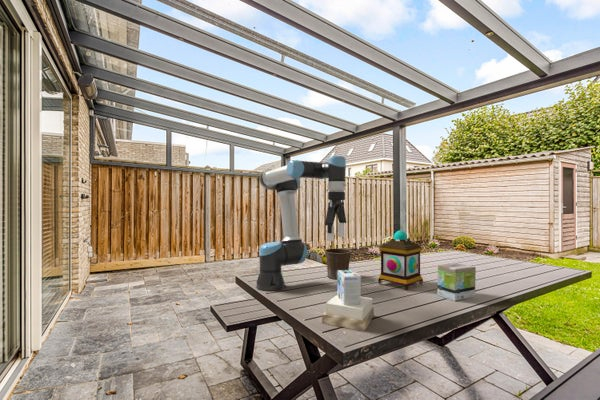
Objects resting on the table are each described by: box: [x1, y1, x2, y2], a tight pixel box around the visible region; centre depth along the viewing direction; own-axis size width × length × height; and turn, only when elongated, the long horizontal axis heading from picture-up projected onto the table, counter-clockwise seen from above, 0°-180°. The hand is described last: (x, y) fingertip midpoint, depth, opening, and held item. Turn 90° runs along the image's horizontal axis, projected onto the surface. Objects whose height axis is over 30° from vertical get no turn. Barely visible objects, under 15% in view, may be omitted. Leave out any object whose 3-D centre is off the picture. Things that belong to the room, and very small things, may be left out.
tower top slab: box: [325, 294, 373, 321], centre depth 117 cm, size 14×14×4 cm
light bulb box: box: [336, 269, 362, 305], centre depth 117 cm, size 11×7×11 cm, turn 7°
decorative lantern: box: [377, 230, 424, 292], centre depth 165 cm, size 20×20×30 cm
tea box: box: [436, 263, 477, 302], centre depth 145 cm, size 15×10×15 cm, turn 118°
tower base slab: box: [321, 306, 375, 332], centre depth 117 cm, size 16×16×4 cm
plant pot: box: [324, 248, 352, 281], centre depth 181 cm, size 16×16×16 cm
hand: (335, 238), depth 134 cm, fingers open, 13 cm apart
